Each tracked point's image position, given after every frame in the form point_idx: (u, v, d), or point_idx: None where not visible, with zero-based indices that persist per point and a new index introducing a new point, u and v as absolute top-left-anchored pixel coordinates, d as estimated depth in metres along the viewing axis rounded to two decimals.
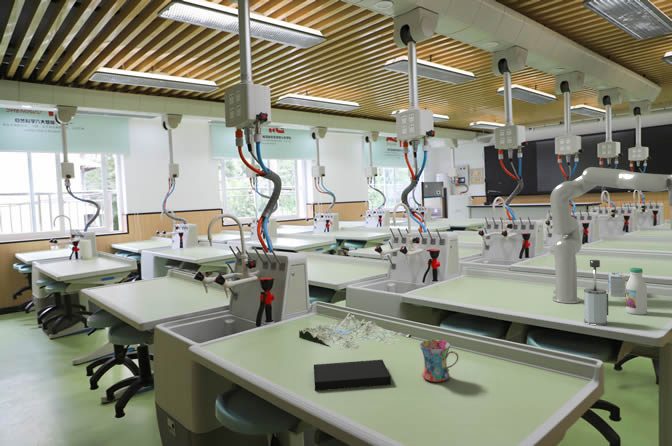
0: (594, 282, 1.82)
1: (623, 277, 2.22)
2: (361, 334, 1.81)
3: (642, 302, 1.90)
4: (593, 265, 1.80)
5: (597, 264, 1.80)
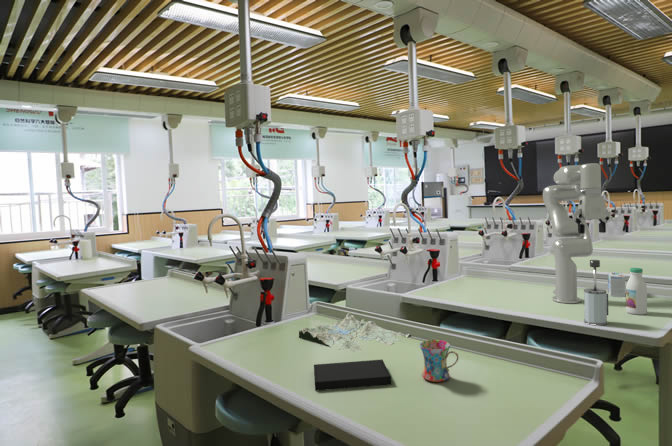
0: (594, 282, 1.82)
1: (623, 277, 2.22)
2: (361, 334, 1.81)
3: (642, 302, 1.90)
4: (593, 265, 1.80)
5: (597, 264, 1.80)
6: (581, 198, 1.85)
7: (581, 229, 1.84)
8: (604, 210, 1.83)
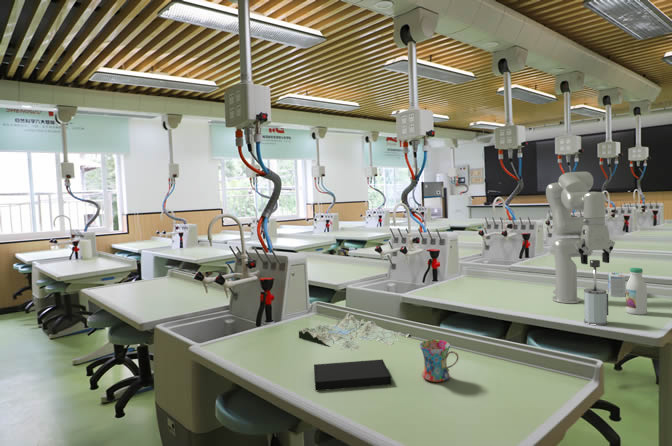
0: (594, 282, 1.82)
1: (623, 277, 2.22)
2: (361, 334, 1.81)
3: (642, 302, 1.90)
4: (593, 265, 1.80)
5: (597, 264, 1.80)
6: (584, 228, 1.80)
7: (584, 259, 1.80)
8: (608, 240, 1.79)
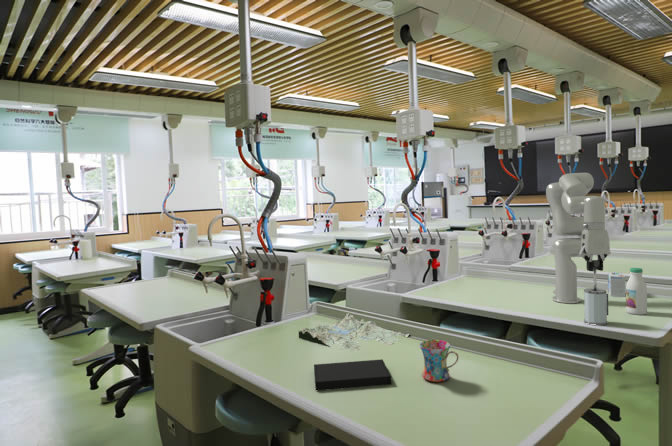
0: (594, 282, 1.82)
1: (623, 277, 2.22)
2: (361, 334, 1.81)
3: (642, 302, 1.90)
4: None
5: (597, 264, 1.80)
6: (584, 232, 1.80)
7: (590, 267, 1.80)
8: (608, 245, 1.79)
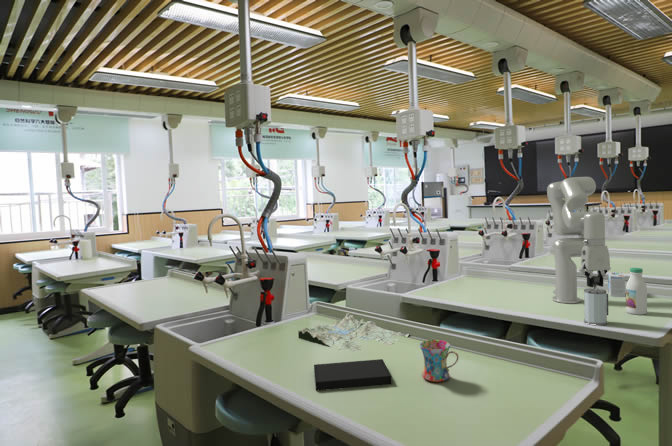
0: None
1: (623, 277, 2.22)
2: (360, 334, 1.81)
3: (642, 302, 1.90)
4: None
5: (597, 280, 1.80)
6: (584, 248, 1.80)
7: (590, 282, 1.81)
8: (608, 261, 1.79)
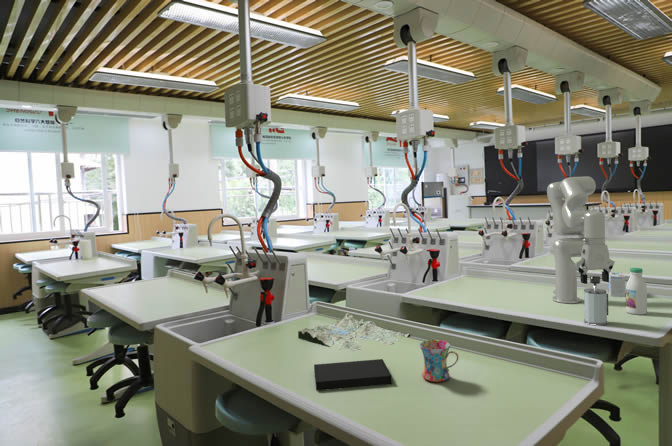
0: None
1: (623, 277, 2.22)
2: (360, 334, 1.81)
3: (642, 302, 1.90)
4: (593, 281, 1.81)
5: (597, 280, 1.80)
6: (584, 247, 1.81)
7: (584, 279, 1.81)
8: (608, 260, 1.79)
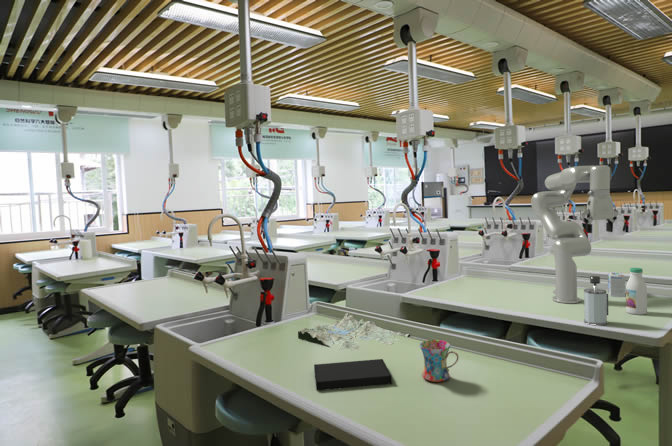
0: None
1: (623, 277, 2.22)
2: (360, 334, 1.81)
3: (642, 302, 1.90)
4: (593, 281, 1.81)
5: (597, 280, 1.80)
6: (590, 199, 1.92)
7: (588, 229, 1.93)
8: (612, 211, 1.91)
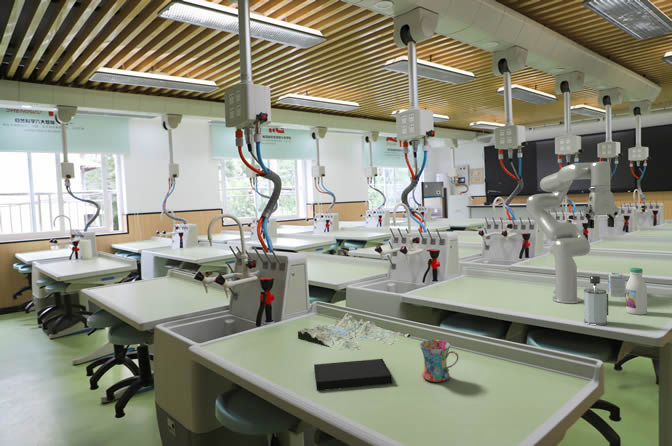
0: None
1: (623, 277, 2.22)
2: (360, 334, 1.81)
3: (642, 302, 1.90)
4: (593, 281, 1.81)
5: (597, 280, 1.80)
6: (591, 194, 1.95)
7: (591, 224, 1.95)
8: (613, 206, 1.94)
